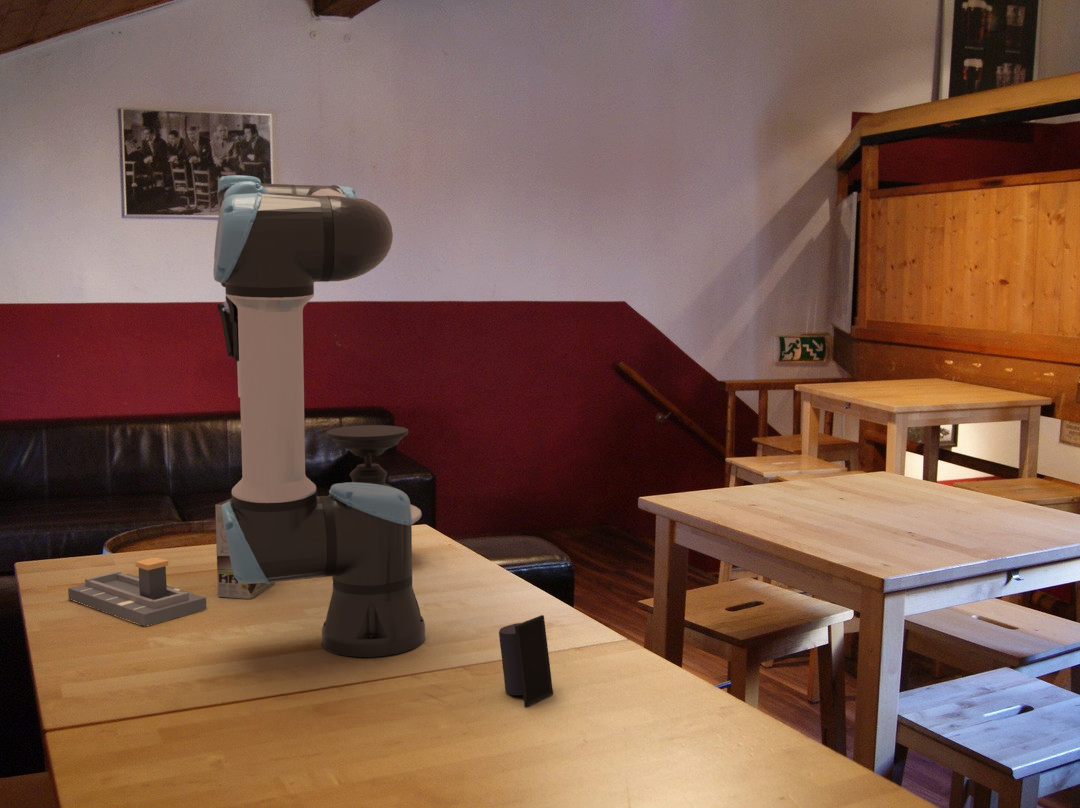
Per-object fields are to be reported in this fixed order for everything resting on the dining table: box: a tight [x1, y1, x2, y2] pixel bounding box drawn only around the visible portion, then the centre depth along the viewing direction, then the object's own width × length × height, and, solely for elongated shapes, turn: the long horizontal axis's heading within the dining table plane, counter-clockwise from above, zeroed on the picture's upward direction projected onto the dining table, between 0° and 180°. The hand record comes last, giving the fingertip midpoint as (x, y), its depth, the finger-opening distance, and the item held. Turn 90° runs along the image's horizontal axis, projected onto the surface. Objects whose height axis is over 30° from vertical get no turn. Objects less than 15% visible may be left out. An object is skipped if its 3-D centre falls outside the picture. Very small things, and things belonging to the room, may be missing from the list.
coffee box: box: [214, 497, 275, 600], centre depth 179 cm, size 9×6×16 cm
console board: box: [67, 570, 208, 627], centre depth 172 cm, size 23×11×3 cm, turn 52°
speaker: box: [498, 614, 554, 708], centre depth 135 cm, size 8×6×10 cm
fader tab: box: [135, 556, 169, 599], centre depth 169 cm, size 4×4×6 cm
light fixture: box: [326, 424, 423, 525], centre depth 196 cm, size 20×20×25 cm
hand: (247, 396), depth 188 cm, fingers closed
